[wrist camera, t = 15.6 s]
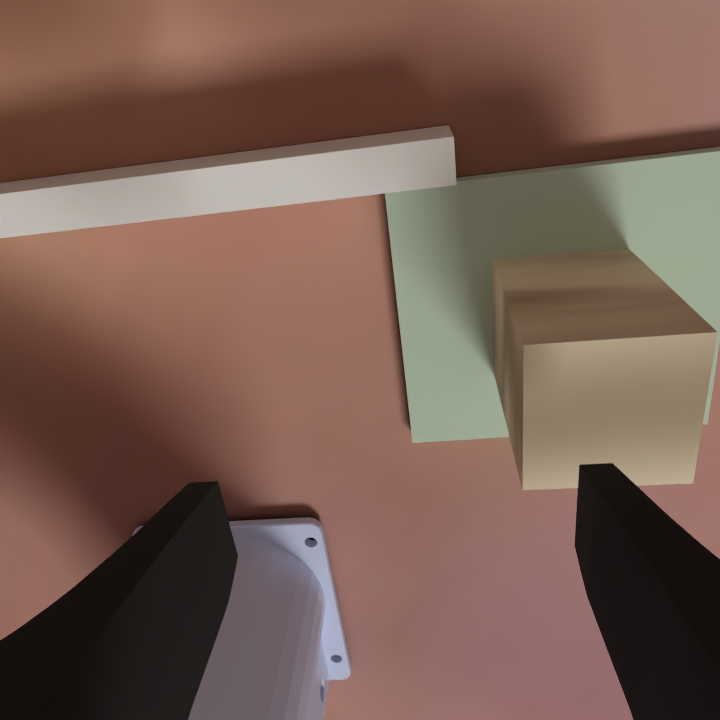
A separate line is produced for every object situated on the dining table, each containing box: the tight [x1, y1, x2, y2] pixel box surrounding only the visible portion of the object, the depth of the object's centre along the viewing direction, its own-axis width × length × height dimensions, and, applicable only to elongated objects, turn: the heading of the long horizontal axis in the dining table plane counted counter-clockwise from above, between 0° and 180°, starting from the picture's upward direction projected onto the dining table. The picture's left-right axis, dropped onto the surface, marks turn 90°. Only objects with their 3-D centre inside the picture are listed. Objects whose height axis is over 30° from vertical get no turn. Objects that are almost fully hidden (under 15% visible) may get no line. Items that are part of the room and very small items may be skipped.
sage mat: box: [385, 147, 720, 443], centre depth 20 cm, size 9×10×1 cm
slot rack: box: [0, 125, 457, 238], centre depth 17 cm, size 8×22×2 cm, turn 98°
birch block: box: [492, 248, 718, 490], centre depth 17 cm, size 4×4×6 cm
